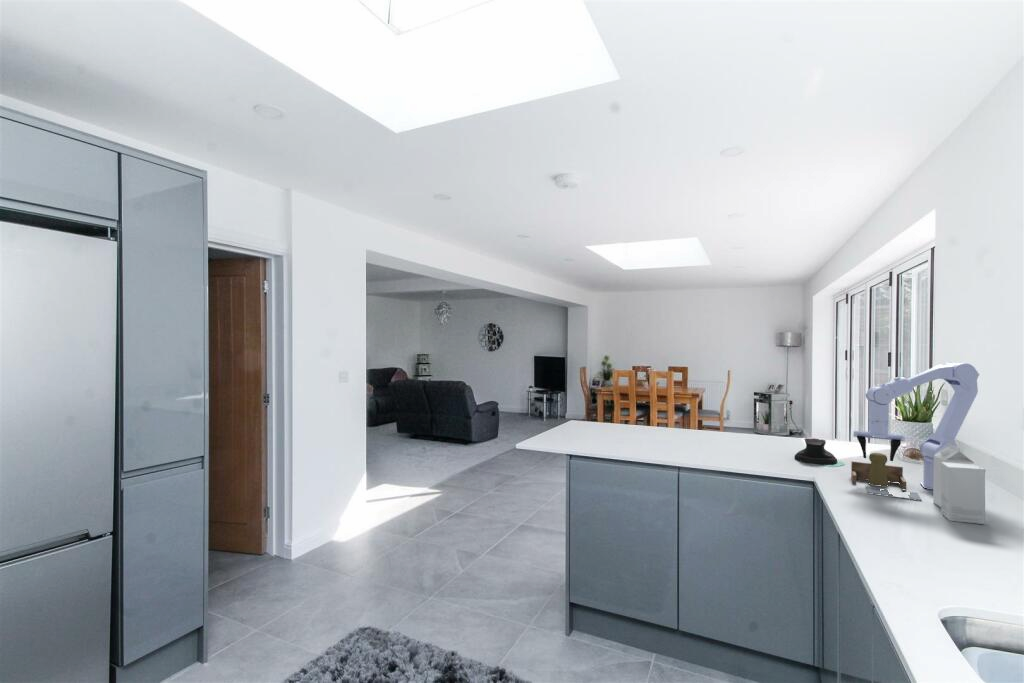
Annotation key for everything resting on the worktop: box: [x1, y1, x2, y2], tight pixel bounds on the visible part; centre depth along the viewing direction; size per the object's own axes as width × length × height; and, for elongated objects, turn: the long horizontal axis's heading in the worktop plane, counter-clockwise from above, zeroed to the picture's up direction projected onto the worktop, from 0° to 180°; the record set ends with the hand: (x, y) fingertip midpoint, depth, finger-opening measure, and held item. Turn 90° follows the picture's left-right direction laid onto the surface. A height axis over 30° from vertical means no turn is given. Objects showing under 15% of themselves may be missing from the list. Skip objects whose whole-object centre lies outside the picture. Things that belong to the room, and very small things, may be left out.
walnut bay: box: [850, 461, 907, 490], centre depth 177 cm, size 15×10×6 cm, turn 58°
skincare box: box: [940, 462, 986, 525], centre depth 141 cm, size 8×7×16 cm
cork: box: [867, 452, 889, 486], centre depth 176 cm, size 6×6×11 cm
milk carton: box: [932, 443, 975, 508], centre depth 151 cm, size 7×7×19 cm
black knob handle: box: [794, 437, 845, 468], centre depth 210 cm, size 20×20×9 cm
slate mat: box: [865, 485, 923, 501], centre depth 165 cm, size 14×9×1 cm, turn 58°
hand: (877, 459), depth 176 cm, fingers open, 7 cm apart
